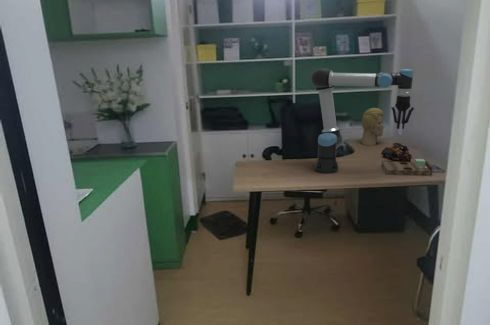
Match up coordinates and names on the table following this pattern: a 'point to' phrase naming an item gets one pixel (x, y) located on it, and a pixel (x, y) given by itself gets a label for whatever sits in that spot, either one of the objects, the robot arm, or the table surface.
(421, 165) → the block
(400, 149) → the character figurine
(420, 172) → the board
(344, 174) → the table surface
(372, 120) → the bust
